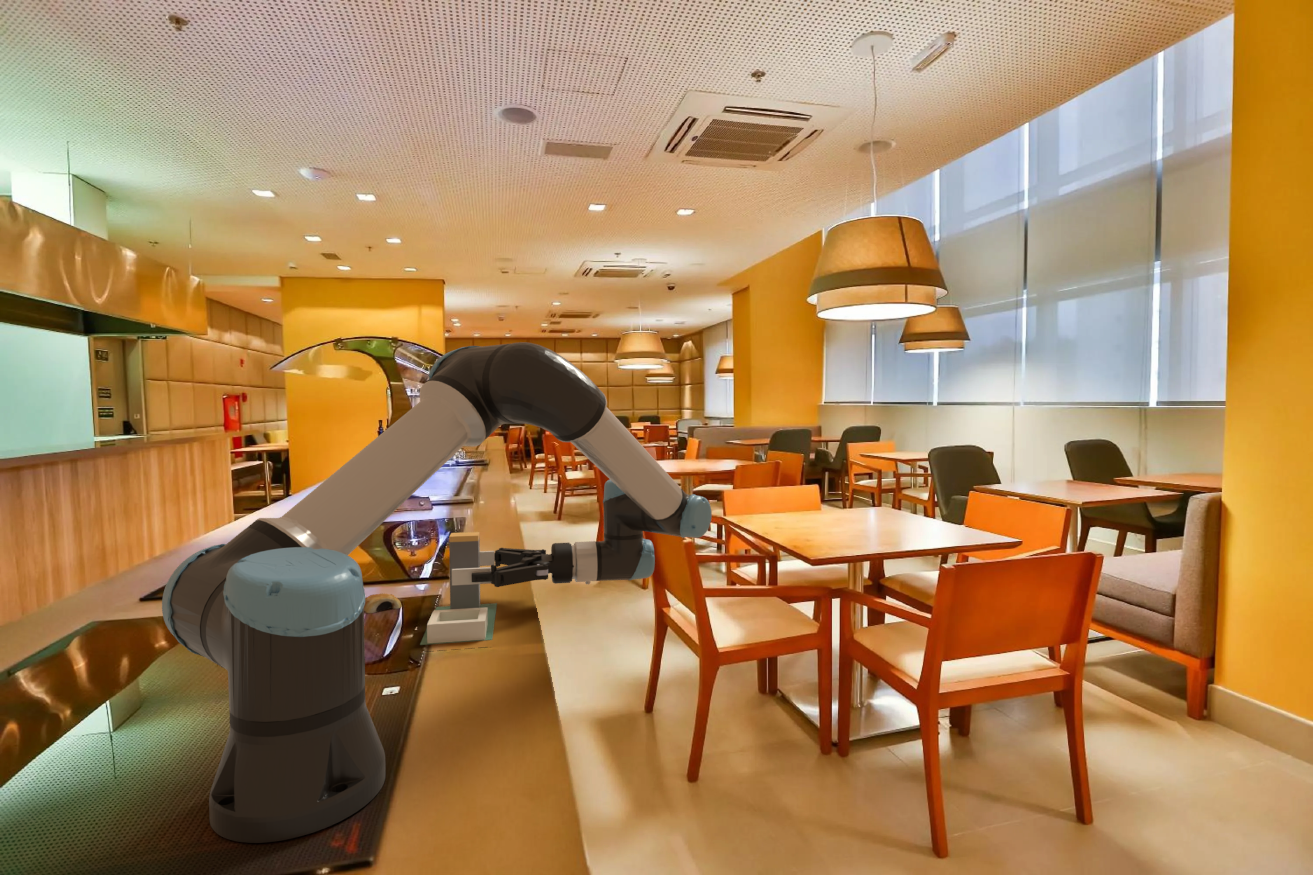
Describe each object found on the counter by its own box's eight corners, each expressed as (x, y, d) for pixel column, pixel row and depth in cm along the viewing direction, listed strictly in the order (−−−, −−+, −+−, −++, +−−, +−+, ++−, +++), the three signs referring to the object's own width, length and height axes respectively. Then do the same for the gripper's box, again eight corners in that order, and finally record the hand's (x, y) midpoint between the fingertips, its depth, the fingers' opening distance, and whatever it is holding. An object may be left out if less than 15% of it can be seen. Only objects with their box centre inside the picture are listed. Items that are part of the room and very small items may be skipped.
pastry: (354, 609, 124) (354, 589, 124) (391, 603, 128) (391, 584, 128) (367, 622, 116) (366, 601, 116) (405, 615, 121) (405, 594, 120)
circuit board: (492, 646, 103) (492, 639, 103) (419, 652, 101) (419, 644, 101) (497, 609, 123) (497, 603, 123) (436, 613, 121) (436, 606, 121)
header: (485, 639, 103) (484, 620, 103) (427, 643, 101) (427, 624, 101) (487, 624, 111) (487, 607, 110) (433, 627, 109) (433, 610, 109)
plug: (479, 611, 117) (478, 535, 117) (450, 613, 116) (449, 536, 116) (480, 605, 121) (479, 531, 120) (452, 607, 120) (451, 532, 119)
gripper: (578, 600, 110) (448, 608, 106) (568, 566, 135) (462, 571, 131) (577, 557, 110) (447, 563, 106) (568, 530, 135) (462, 534, 130)
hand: (455, 567), depth 118 cm, fingers open, 13 cm apart
